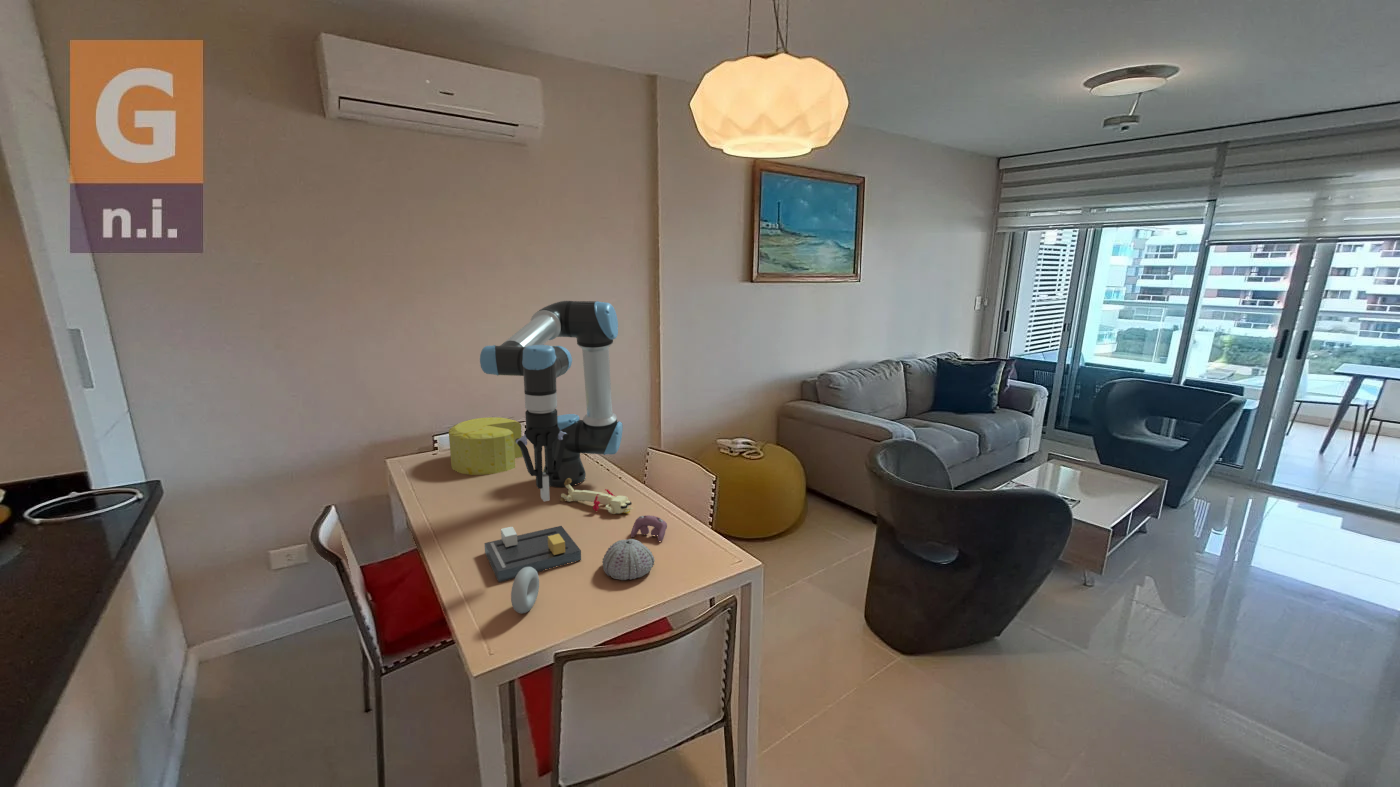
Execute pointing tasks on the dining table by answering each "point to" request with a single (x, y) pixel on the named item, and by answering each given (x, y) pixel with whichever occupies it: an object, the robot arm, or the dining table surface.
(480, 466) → the cheese
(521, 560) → the fader console
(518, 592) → the donut
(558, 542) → the amber block
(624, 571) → the sea urchin shell
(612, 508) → the cream elongated figure
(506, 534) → the block
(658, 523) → the purple arched piece
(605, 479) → the dining table surface
